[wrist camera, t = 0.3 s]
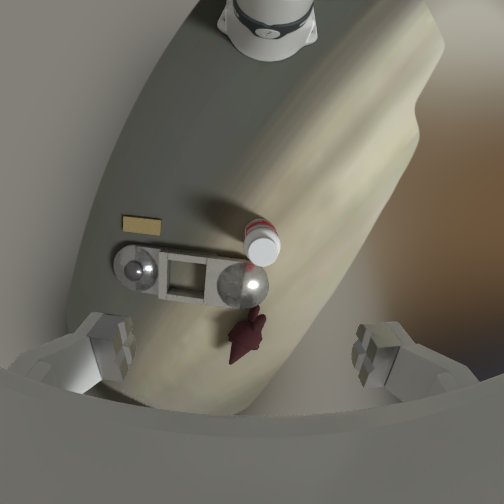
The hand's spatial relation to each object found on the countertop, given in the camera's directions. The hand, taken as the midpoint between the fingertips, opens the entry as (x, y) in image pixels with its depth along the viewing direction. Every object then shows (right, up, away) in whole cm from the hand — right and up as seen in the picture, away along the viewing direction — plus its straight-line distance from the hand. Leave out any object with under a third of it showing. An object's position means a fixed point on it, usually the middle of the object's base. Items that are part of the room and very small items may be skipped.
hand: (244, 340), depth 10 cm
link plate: (-21, +9, +46) cm, 51 cm away
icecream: (-1, -14, +54) cm, 56 cm away
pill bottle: (+2, +7, +47) cm, 47 cm away
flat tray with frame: (-12, -1, +49) cm, 50 cm away
